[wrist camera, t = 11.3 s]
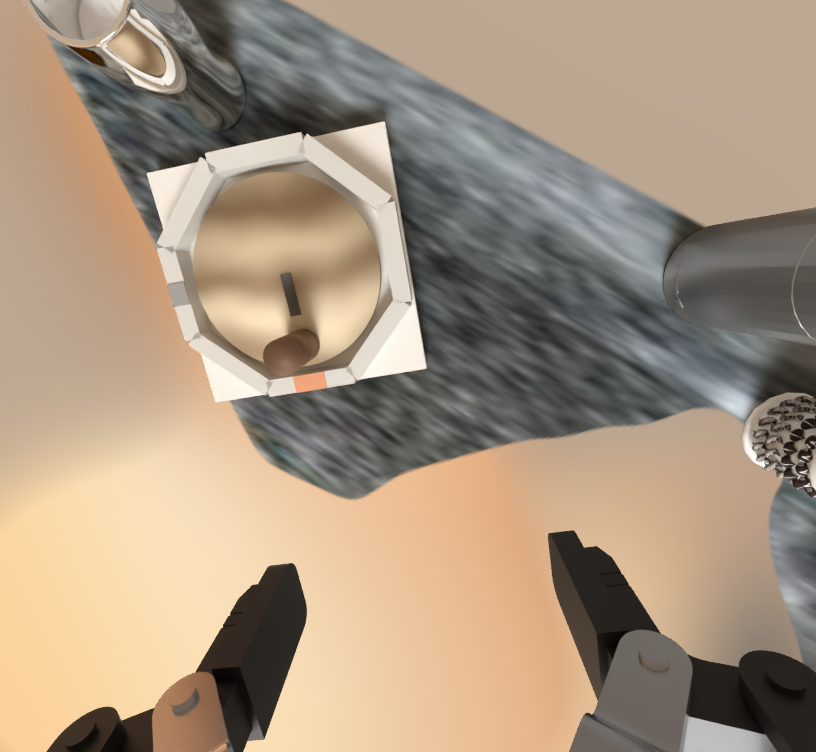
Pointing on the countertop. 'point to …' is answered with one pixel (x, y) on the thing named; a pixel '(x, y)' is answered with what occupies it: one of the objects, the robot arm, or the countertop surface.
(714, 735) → the robot arm
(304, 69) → the countertop surface
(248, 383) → the dial housing
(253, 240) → the dial
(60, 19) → the beer glass
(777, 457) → the decorative candle
